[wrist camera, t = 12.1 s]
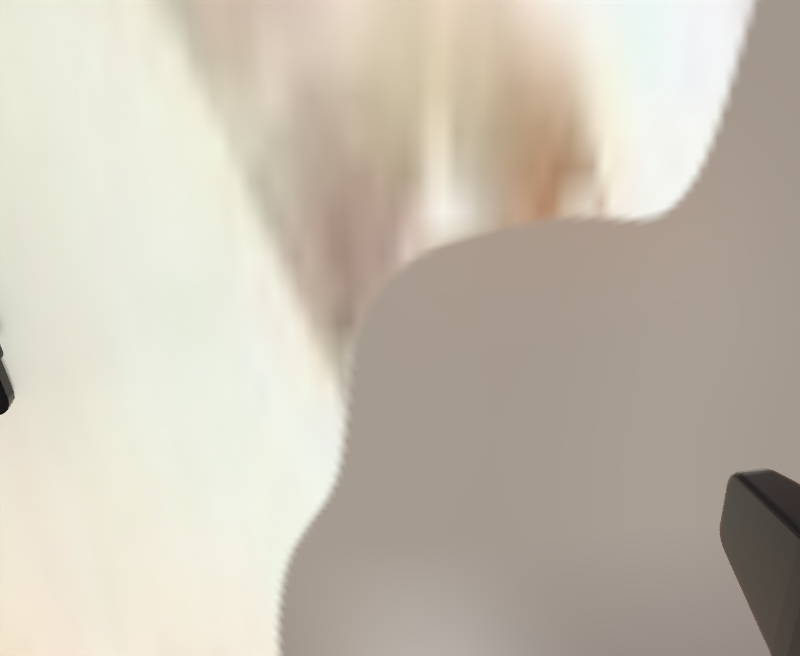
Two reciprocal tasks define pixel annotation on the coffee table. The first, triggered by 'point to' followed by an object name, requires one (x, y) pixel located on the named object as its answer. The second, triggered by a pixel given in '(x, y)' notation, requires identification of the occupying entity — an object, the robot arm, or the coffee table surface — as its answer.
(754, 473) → the robot arm
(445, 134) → the coffee table surface
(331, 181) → the coffee table surface
